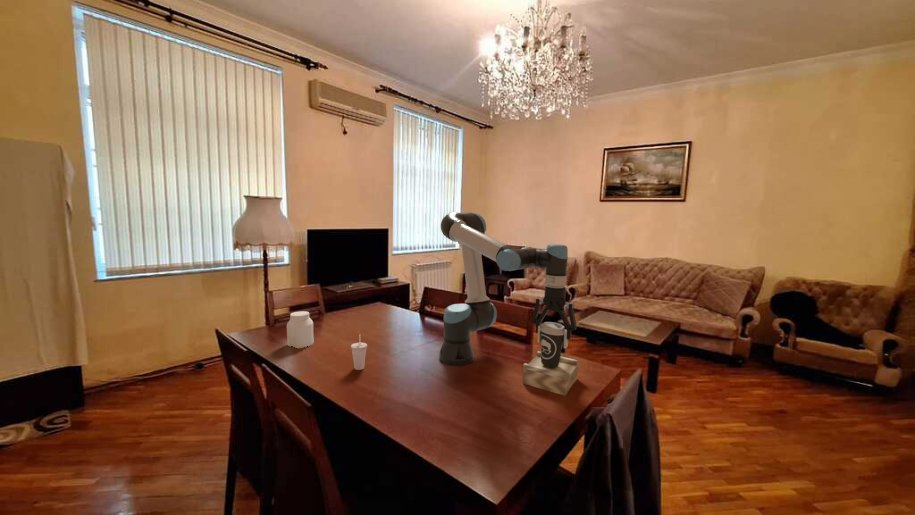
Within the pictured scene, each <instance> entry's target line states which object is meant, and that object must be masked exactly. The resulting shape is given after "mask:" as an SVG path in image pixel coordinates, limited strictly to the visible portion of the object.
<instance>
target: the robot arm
mask: <svg viewBox="0 0 915 515" xmlns="http://www.w3.org/2000/svg"><path fill="white" fill-rule="evenodd" d="M486 223H487V222H486V220H485V219H484V217H483V216H482V215H481V214H479V213H475V212H456V211H455V212H450V213H447V214H446V215H445V216H443V218H442V219H441V221H440V230H441V231H440V232H441V233H442V235H443V236H444V237H445V238H447V239H448V240H450V241H452V242H454V243H457V244H458V245H460V246H461V251H462V253H461V254H462V261H463V269H464V276H465V286H466V294H467V298H466V300H464V303H454V304H450V305H448V306H447V307H445V309H444V314H443V342H442V343H441V344H442V345H441V348H440V351H439V354H438V355H439V356H438V357H439V360H440V362H441V363H444V364H445V365H450V366H465V365H468V364H471V363H473V361H474V359H475V358H474V357H475V353H474V351H473V348H472V344H471V333H474V332H477V331H481V330H485V329H488V328H490V327H492V326H493V325H494V324H495V322H496V321H497V318H498V316H497V315H498V312H497V308H496V306H494V304H493V303H492V302H491V299H490V297H488V296H487V291H486V283H485V277H484V276H485V275H484V265H483V259H482V255H483V256H484V257H486V258H488V259H490V260H491V261H494V262H496V265H497V266H498V268H499V269H500V270H502V271H504V272H507V271H508V272H513V271H518V270H525V269H533V268H534V269H535V268H537V269H543V270H545V275H544V276H545V277H544V278H545V280H544V285H545V286H544V297H543V298H540V297H538V298H536V299H535V306H534V307H535V308H534V310H533V313H532V317H531V320H530V322H531V324H534V325H535V333H536V334H537V340H536V341H537V343H538V344H541V330H540V327H541V326H542V322H543V320H544V318H545V317H546V315H547V314H548V312H549V311H550V312H557V313H558V315H559V316H560V318H561V320H562V322H563V326H564V328H565V332H564V340H563V349H567V348H568V346H569V345H568V344H569V340H571V338H572V332H573V331H576V330H577V329H578V326H577V322H576V321H577V320H576V316H575V311H574V306H575V303H574V302H568V301H567V300H566V293H567V288H566V286H567V269H568V259H569V256H568V255H569V254H568V249H569V248H568V246H567V245H565V244H555V243H554V244H552V243H551V244H550V243H549V244H547V246H546V248H537V247H531V246H529V247H526V246H525V247H522V248H517V249H516V248H514V247H511V246H510V245H507V244H505V243H504V242H501V241H499V240H498V239H496V238H493V237H491V236H489V235H487V234H486V231H487V224H486ZM542 304H544V306H545V307H544V309H543V311H542V312H541V313H540V315H539V312H540V309H541V307H542ZM565 306H566V309H568V316H569V319H568V317H567V314H566V312H565V308H564V307H565ZM538 316H539V317H538Z"/></svg>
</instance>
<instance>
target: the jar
mask: <svg viewBox="0 0 915 515" xmlns="http://www.w3.org/2000/svg"><path fill="white" fill-rule="evenodd" d="M289 318H290V319H289V320H288V322H287V324H286V336H287V337H286V338H287V339H286V340H287V343H286V344H287V345H288V347H291V346H293V347H292V348H294V347H295V349H296V348H297V349H303V348H302V347H305V348H308V347H311V346H312V345H314V342H315V340H314V321H313V320H312V318H310V312H309V311H306V310H304V311H302V310H301V311H294V312H291V313H290V314H289ZM310 345H311V346H310ZM307 346H308V347H307Z"/></svg>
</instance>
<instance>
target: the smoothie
mask: <svg viewBox="0 0 915 515" xmlns="http://www.w3.org/2000/svg"><path fill="white" fill-rule="evenodd" d="M358 336H359V337H358V339H359V342H354V343H352V344H351V345H350V349H351V353H352V359H353V366H354V370H356V371H361V370H364V369H365V363H366V354H367V348H368V344H367V343H366V342H362V341H361V339H362V338H361V337H362V336H361V333H360V334H359V335H358Z"/></svg>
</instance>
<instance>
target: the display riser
mask: <svg viewBox="0 0 915 515" xmlns="http://www.w3.org/2000/svg"><path fill="white" fill-rule="evenodd" d="M522 366H523V369H522V370H523V371H522V384H523V385H527V386H529V387H530V386H531V387H533V388H536V389H540V390H544V391H548V392H551V393H554V394H558V395H561V396H564V397H566V395H567V394H568V393H569V392H570V390H571V388H572V387H573V385H574V384H575V383H576V381H577V380H578V368H579V367H578V366H579V360H578V359H575V358H570V357H565V356H562V355H560V360H559V365H558V366H557V367H548V366H545V365H543V364H542V363H541V350H540V351H537V352H536V356H535V357H534V358H533V359H531V361H530V362H528V363H526V362H524V363H523V365H522Z"/></svg>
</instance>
